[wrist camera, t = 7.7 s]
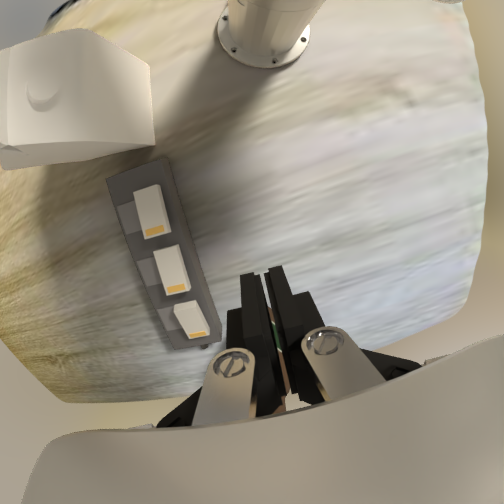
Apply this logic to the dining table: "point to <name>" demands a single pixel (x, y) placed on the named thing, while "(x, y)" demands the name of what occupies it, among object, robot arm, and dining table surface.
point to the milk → (71, 100)
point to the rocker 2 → (192, 319)
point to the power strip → (144, 248)
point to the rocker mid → (172, 270)
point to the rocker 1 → (152, 211)
